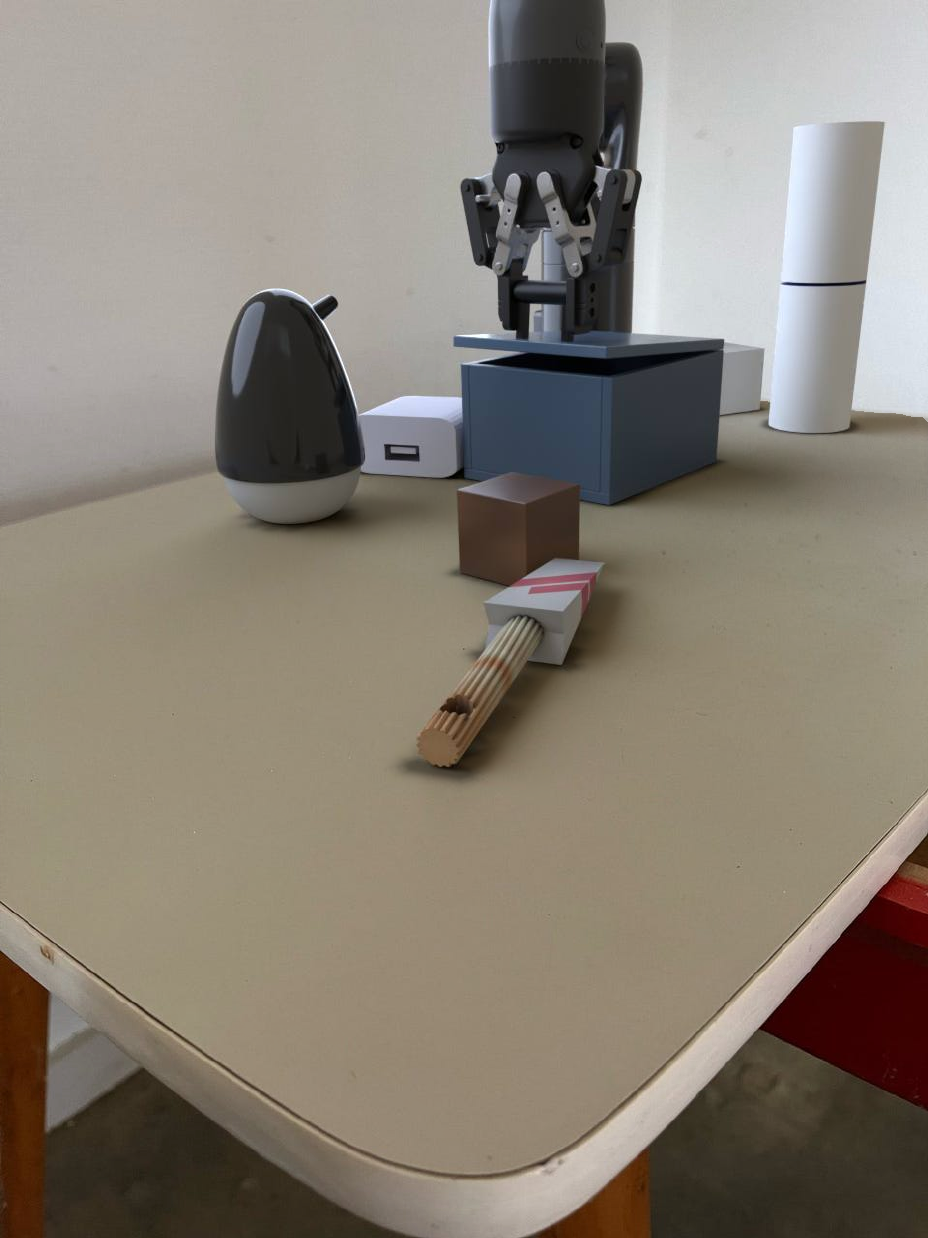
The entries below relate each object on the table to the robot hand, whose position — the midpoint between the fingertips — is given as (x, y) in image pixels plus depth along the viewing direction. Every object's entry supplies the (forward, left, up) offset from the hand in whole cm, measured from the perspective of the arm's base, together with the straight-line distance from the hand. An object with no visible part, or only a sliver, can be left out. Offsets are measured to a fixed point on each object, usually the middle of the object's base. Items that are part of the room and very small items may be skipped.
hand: (546, 330), depth 71 cm
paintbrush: (+18, -26, -12) cm, 34 cm away
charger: (-14, +3, -12) cm, 18 cm away
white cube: (-4, +34, -12) cm, 36 cm away
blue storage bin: (0, +6, -11) cm, 13 cm away
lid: (0, +6, -2) cm, 6 cm away
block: (+10, -16, -11) cm, 22 cm away
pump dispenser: (-10, -16, -12) cm, 22 cm away
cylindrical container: (+7, +31, -12) cm, 34 cm away
